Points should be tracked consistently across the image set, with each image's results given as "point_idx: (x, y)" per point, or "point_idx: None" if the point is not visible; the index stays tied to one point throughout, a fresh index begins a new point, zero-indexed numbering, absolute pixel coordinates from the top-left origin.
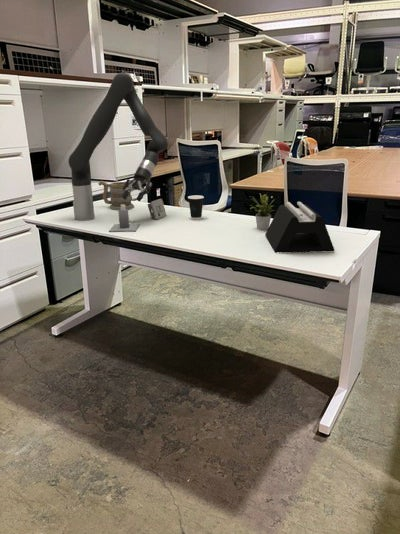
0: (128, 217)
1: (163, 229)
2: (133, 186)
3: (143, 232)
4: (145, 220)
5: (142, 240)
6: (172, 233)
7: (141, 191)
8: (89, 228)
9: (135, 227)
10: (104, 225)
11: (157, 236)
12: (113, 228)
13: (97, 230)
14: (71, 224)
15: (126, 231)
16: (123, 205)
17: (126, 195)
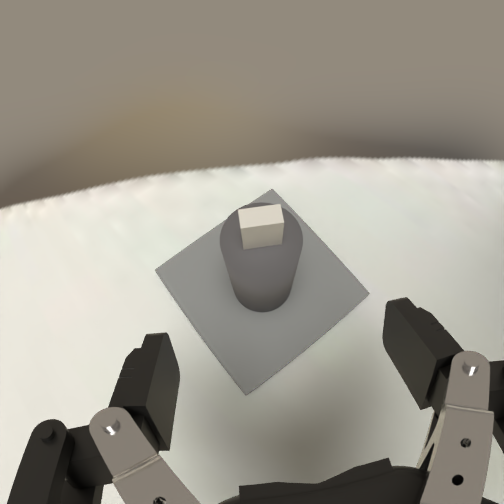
0: (231, 279)
1: (67, 386)
2: (382, 476)
3: (114, 286)
4: None
5: (58, 199)
6: (8, 343)
7: (110, 417)
8: (402, 184)
9: (199, 315)
10: (406, 261)
11: (33, 272)
12: None
13: (343, 181)
14: (499, 191)
15: (197, 242)
16: (242, 209)
17: (406, 358)
